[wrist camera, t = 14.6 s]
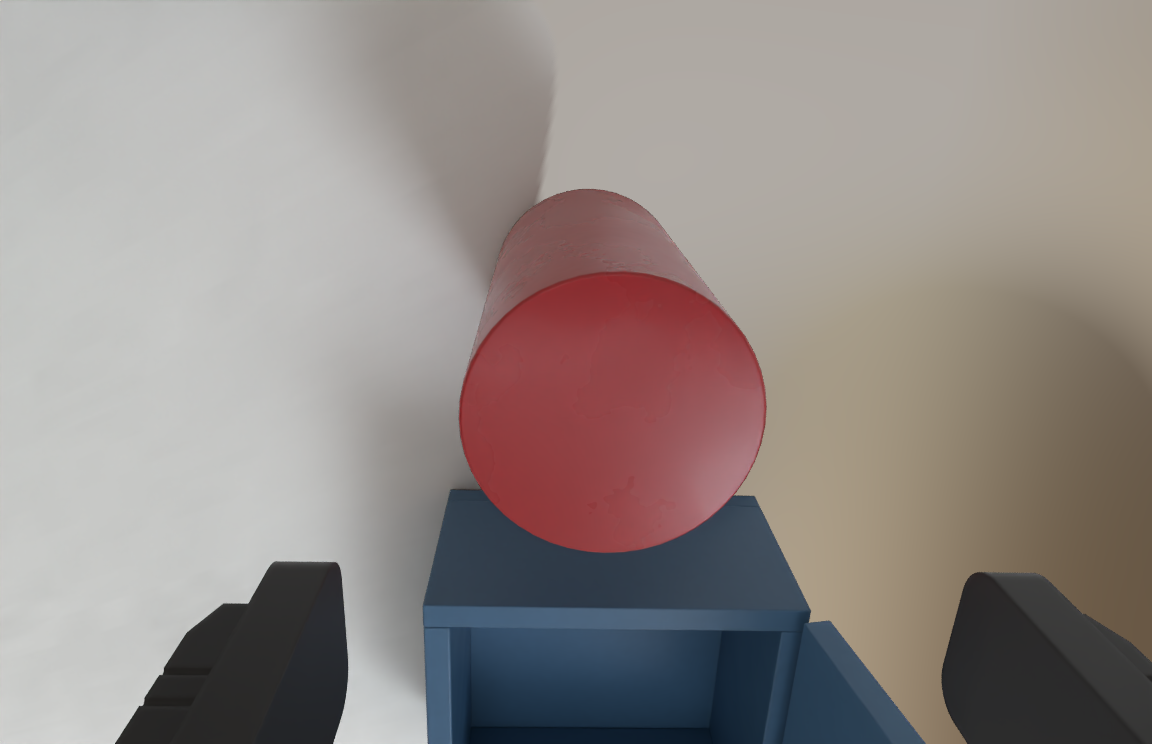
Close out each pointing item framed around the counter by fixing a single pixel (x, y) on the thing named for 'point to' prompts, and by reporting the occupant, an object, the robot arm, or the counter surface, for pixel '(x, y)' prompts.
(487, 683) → the blue open square box
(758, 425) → the can
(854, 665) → the lid
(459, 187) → the counter surface
